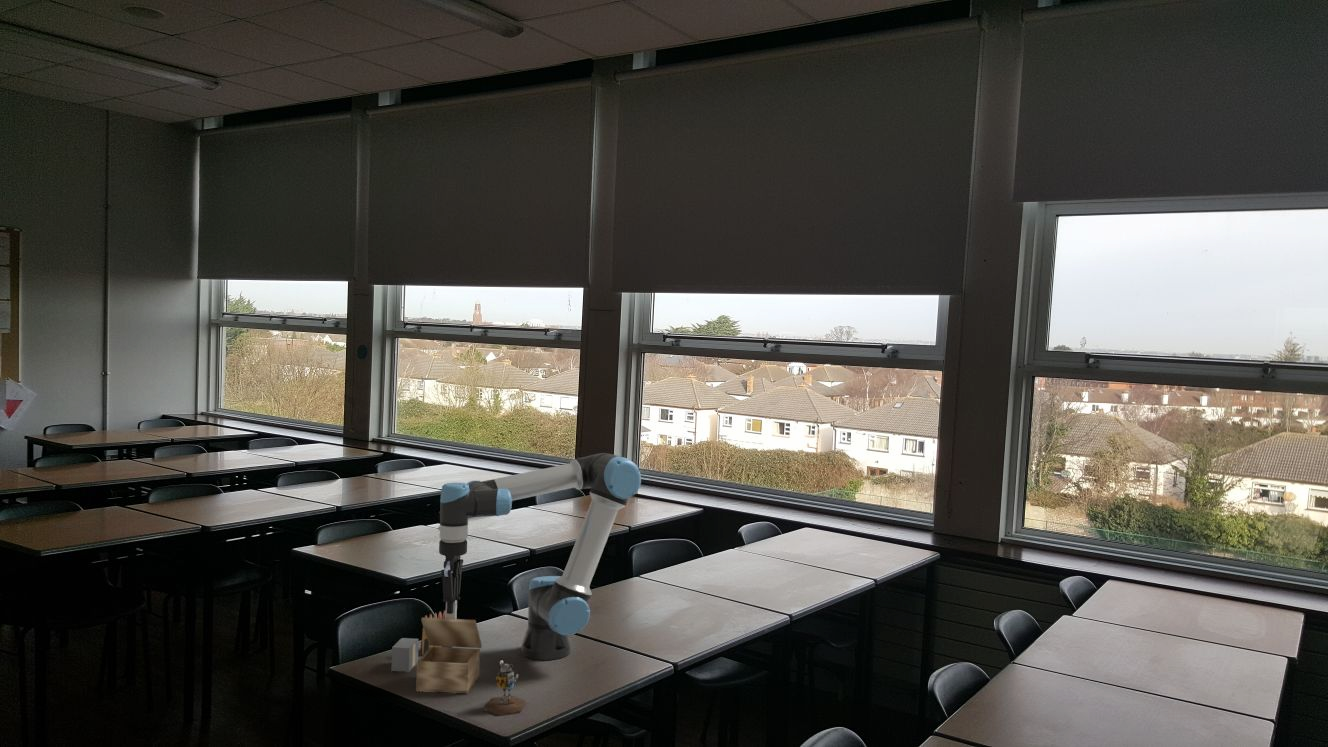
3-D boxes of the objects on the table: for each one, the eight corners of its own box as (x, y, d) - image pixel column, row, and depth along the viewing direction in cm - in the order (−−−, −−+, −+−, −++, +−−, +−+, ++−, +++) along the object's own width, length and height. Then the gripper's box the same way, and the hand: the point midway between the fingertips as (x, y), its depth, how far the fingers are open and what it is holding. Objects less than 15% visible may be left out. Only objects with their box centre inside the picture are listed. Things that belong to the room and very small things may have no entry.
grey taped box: (418, 662, 250) (418, 638, 250) (408, 672, 242) (409, 648, 242) (400, 661, 251) (401, 638, 250) (391, 671, 243) (391, 647, 242)
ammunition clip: (424, 656, 256) (425, 616, 255) (420, 654, 257) (421, 615, 256) (452, 647, 264) (453, 608, 264) (448, 645, 265) (450, 607, 265)
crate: (478, 677, 241) (479, 649, 240) (467, 694, 229) (468, 664, 228) (430, 674, 241) (430, 646, 241) (415, 691, 229) (416, 661, 229)
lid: (481, 648, 240) (481, 645, 241) (474, 622, 232) (475, 619, 233) (429, 645, 241) (430, 642, 242) (421, 620, 233) (422, 617, 233)
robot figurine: (533, 708, 221) (535, 662, 221) (506, 719, 214) (508, 672, 214) (505, 696, 228) (506, 651, 228) (477, 706, 221) (479, 661, 221)
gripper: (447, 533, 242) (444, 615, 242) (432, 544, 229) (429, 630, 230) (473, 534, 241) (470, 617, 242) (460, 545, 228) (457, 632, 229)
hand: (450, 623), depth 236 cm, fingers closed
